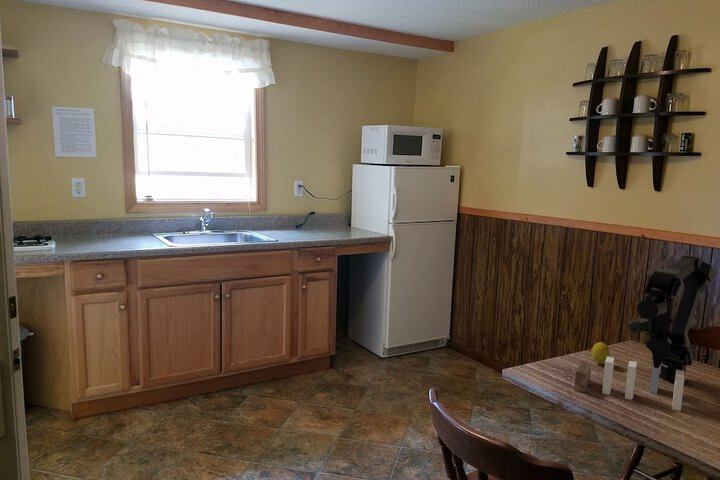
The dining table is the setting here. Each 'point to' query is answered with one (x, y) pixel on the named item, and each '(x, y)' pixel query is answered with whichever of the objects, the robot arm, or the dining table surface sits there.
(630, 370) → the domino
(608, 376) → the domino
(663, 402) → the dining table surface
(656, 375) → the blue domino
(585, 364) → the end block
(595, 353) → the lemon
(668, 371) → the robot arm
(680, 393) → the domino
